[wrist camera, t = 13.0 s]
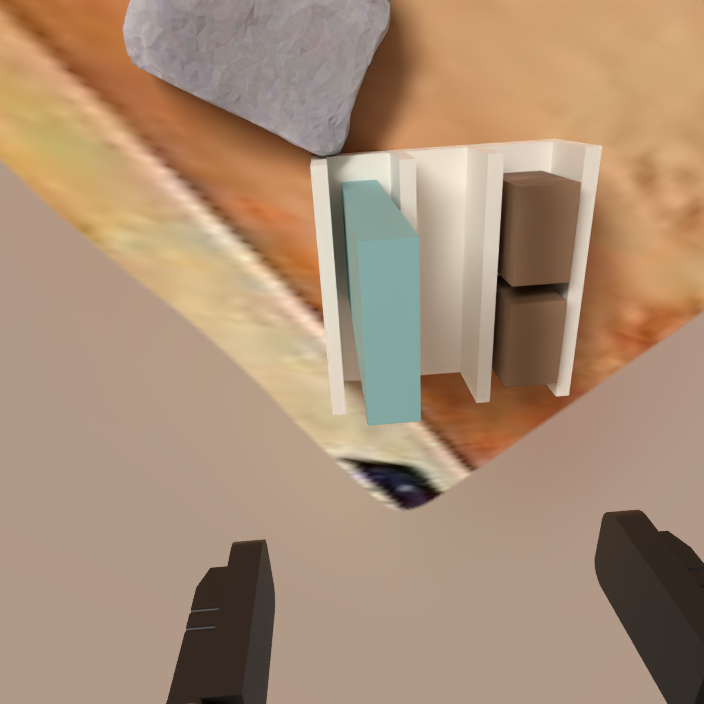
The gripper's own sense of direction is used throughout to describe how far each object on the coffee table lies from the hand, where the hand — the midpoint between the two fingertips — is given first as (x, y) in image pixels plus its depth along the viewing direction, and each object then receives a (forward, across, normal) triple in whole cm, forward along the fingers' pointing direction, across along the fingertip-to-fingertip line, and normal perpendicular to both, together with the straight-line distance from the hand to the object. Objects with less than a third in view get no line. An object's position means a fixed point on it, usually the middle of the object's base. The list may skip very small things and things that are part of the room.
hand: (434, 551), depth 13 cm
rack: (+23, -4, 0) cm, 24 cm away
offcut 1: (+22, -9, -3) cm, 23 cm away
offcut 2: (+22, -9, +3) cm, 23 cm away
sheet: (+22, 0, -2) cm, 22 cm away
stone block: (+24, +4, -14) cm, 28 cm away
